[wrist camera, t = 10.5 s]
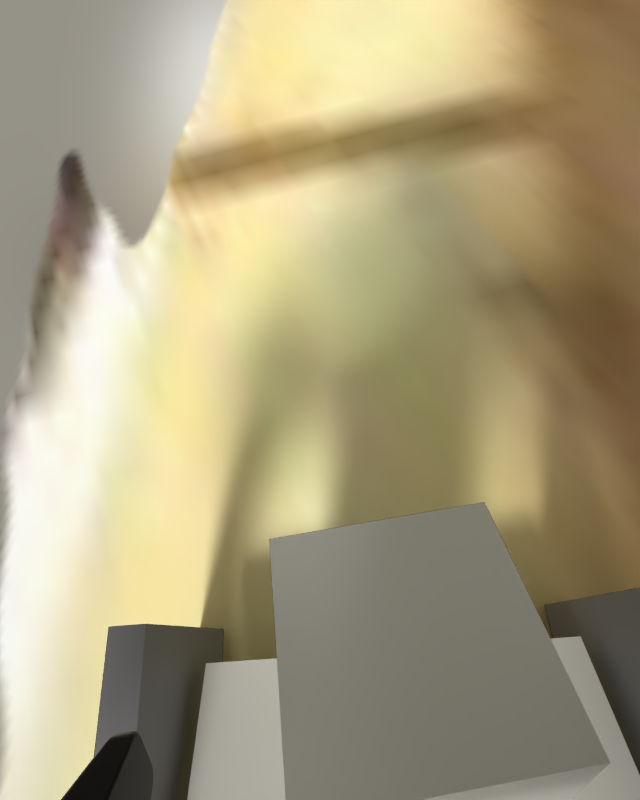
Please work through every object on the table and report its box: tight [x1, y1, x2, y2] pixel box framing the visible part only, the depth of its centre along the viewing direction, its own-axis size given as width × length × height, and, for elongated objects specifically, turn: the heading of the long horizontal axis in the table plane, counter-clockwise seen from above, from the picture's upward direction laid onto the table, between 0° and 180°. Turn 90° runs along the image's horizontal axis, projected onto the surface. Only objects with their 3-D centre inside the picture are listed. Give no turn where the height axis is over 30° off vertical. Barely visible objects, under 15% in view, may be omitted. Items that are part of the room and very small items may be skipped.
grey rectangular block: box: [269, 502, 610, 800], centre depth 12 cm, size 5×5×7 cm
